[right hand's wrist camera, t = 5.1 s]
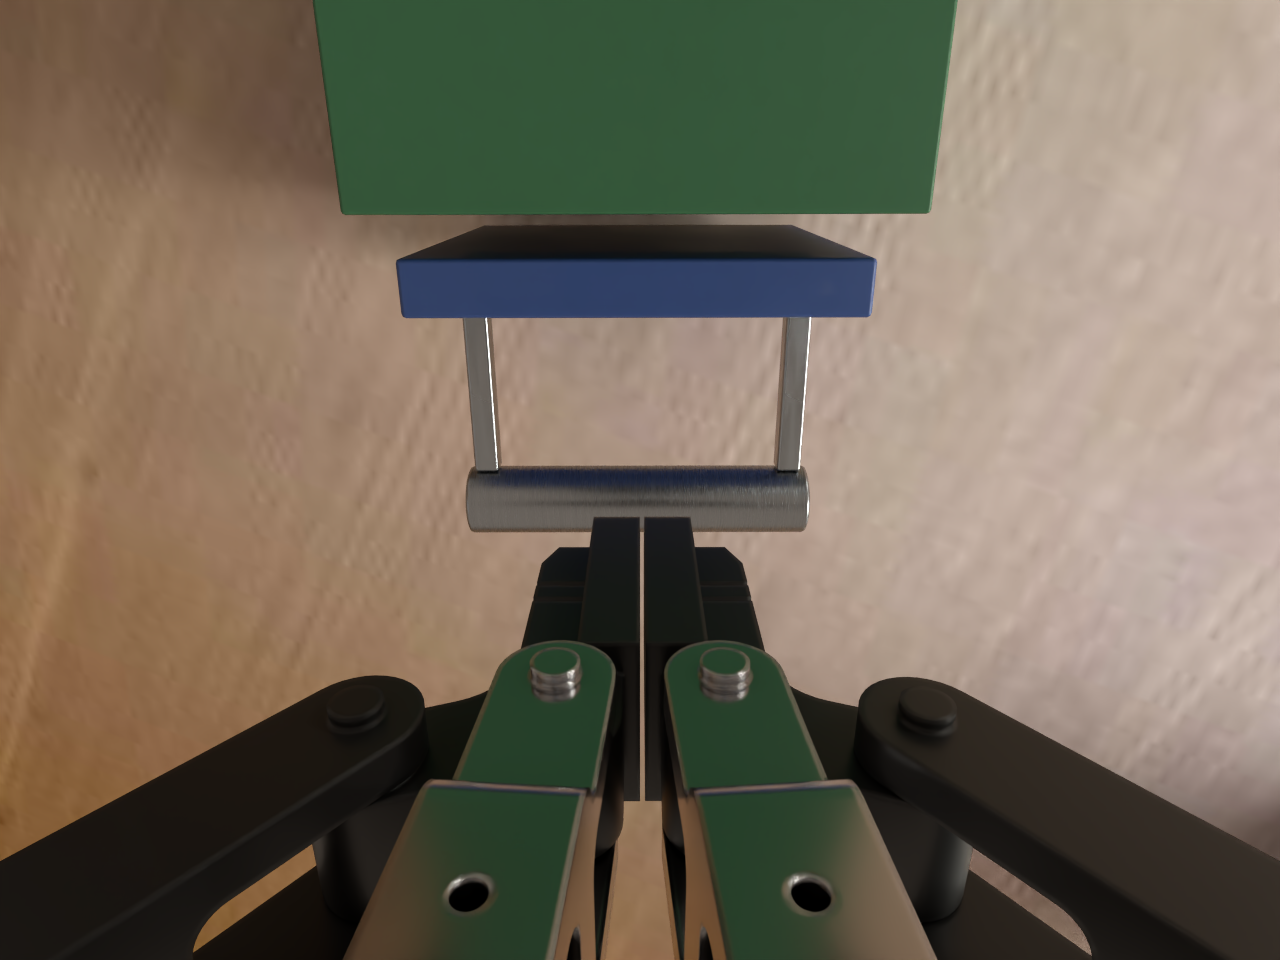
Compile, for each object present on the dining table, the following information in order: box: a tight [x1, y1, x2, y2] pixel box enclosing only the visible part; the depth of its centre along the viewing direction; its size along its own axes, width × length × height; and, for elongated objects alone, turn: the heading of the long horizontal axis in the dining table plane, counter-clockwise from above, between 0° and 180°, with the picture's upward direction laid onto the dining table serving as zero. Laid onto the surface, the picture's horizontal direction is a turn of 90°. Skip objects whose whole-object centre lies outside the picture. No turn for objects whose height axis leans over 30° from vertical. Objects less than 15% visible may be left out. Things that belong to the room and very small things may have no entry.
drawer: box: [396, 225, 877, 532], centre depth 18 cm, size 25×10×10 cm, turn 0°
